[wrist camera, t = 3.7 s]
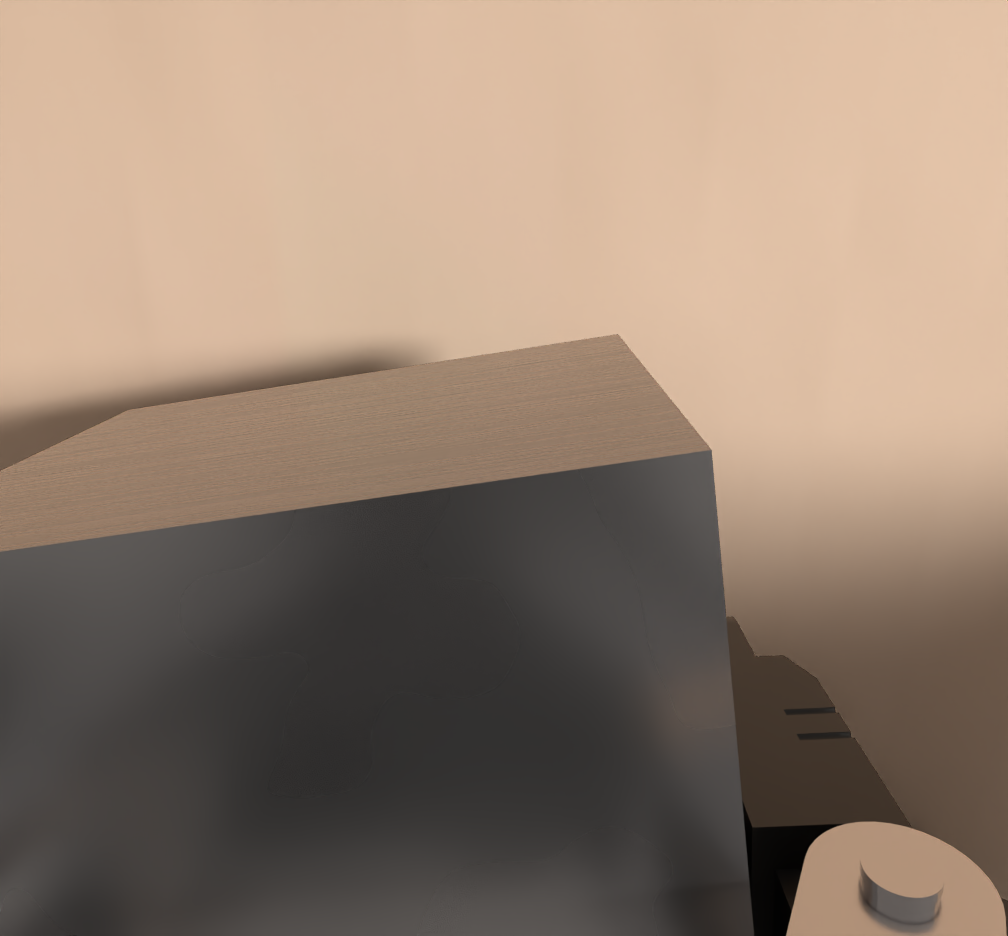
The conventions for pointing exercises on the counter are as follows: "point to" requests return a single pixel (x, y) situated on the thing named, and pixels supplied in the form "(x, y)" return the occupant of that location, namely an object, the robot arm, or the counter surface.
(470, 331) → the counter surface
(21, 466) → the iron block
